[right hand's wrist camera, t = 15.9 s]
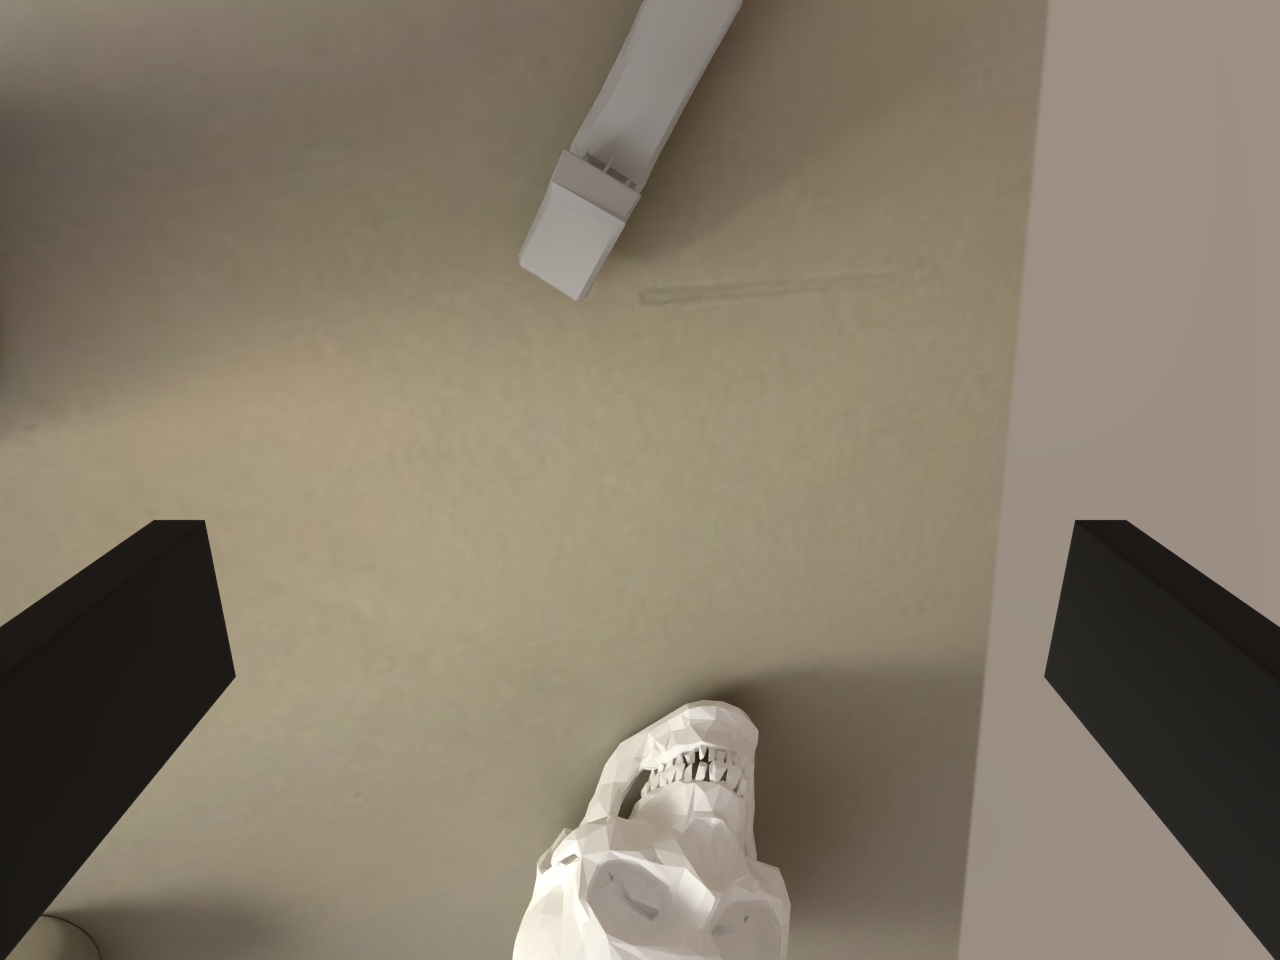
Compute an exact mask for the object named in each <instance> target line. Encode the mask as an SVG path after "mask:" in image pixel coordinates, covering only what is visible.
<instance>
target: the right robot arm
mask: <svg viewBox="0 0 1280 960" xmlns="http://www.w3.org/2000/svg"><path fill="white" fill-rule="evenodd" d="M235 677H236V675H235V670H234V665H233V660H232V655H231V650H230V645H229V640H228V635H227V630H226V625H225V620H224V615H223V610H222V605H221V600H220V595H219V590H218V585H217V580H216V575H215V569H214V564H213V559H212V554H211V549H210V544H209V539H208V534H207V529H206V524H205V520H153V521H152V522H150V523H149V524H148V525H146V526H145V527H143V528H142V529H140V530H139V531H138V532H136V533H135V534H133V535H132V536H130V537H129V538H128V539H126V540H125V541H123V542H122V543H120V544H119V545H117V546H116V547H115V548H113V549H112V550H110V551H109V552H107V553H106V554H105V555H103V556H102V557H100V558H99V559H97V560H96V561H95V562H93V563H92V564H90V565H89V566H87V567H86V568H84V569H83V570H82V571H80V572H79V573H77V574H76V575H74V576H73V577H72V578H70V579H69V580H67V581H66V582H64V583H63V584H62V585H60V586H59V587H57V588H56V589H54V590H53V591H51V592H50V593H49V594H47V595H46V596H44V597H43V598H41V599H40V600H39V601H37V602H36V603H34V604H33V605H31V606H30V607H29V608H27V609H26V610H24V611H23V612H21V613H20V614H19V615H17V616H16V617H14V618H13V619H11V620H10V621H8V622H7V623H6V624H4V625H3V626H1V627H0V960H5V959H6V958H7V957H8V955H9V954H10V953H11V952H12V950H13V949H14V948H15V947H16V946H17V944H18V943H19V942H20V941H21V939H22V938H23V937H24V936H25V935H26V933H27V932H28V931H29V930H30V928H31V927H32V926H33V925H34V923H35V922H36V921H37V920H38V919H39V917H40V916H41V915H42V914H43V912H44V911H45V910H46V909H47V908H48V906H49V905H50V904H51V903H52V901H53V900H54V899H55V898H56V897H57V895H58V894H59V893H60V892H61V890H62V889H63V888H64V887H65V885H66V884H67V883H68V882H69V881H70V879H71V878H72V877H73V876H74V874H75V873H76V872H77V871H78V870H79V868H80V867H81V866H82V865H83V863H84V862H85V861H86V860H87V859H88V857H89V856H90V855H91V854H92V852H93V851H94V850H95V849H96V847H97V846H98V845H99V844H100V843H101V841H102V840H103V839H104V838H105V836H106V835H107V834H108V833H109V832H110V830H111V829H112V828H113V827H114V825H115V824H116V823H117V822H118V821H119V819H120V818H121V817H122V816H123V814H124V813H125V812H126V811H127V809H128V808H129V807H130V806H131V805H132V803H133V802H134V801H135V800H136V798H137V797H138V796H139V795H140V794H141V792H142V791H143V790H144V789H145V787H146V786H147V785H148V784H149V782H150V781H151V780H152V779H153V778H154V776H155V775H156V774H157V773H158V771H159V770H160V769H161V768H162V767H163V765H164V764H165V763H166V762H167V760H168V759H169V758H170V757H171V756H172V754H173V753H174V752H175V751H176V749H177V748H178V747H179V746H180V744H181V743H182V742H183V741H184V740H185V738H186V737H187V736H188V735H189V733H190V732H191V731H192V730H193V729H194V727H195V726H196V725H197V724H198V722H199V721H200V720H201V719H202V718H203V716H204V715H205V714H206V713H207V711H208V710H209V709H210V708H211V706H212V705H213V704H214V703H215V702H216V700H217V699H218V698H219V697H220V695H221V694H222V693H223V692H224V691H225V689H226V688H227V687H228V686H229V684H230V683H231V682H232V681H233V680H234V678H235ZM1044 677H1045V678H1046V680H1047V681H1048V682H1049V683H1050V684H1051V686H1052V687H1053V688H1054V689H1055V691H1056V692H1057V693H1058V694H1059V695H1060V697H1061V698H1062V699H1063V700H1064V702H1065V703H1066V704H1067V705H1068V706H1069V708H1070V709H1071V710H1072V711H1073V713H1074V714H1075V715H1076V716H1077V718H1078V719H1079V720H1080V721H1081V722H1082V724H1083V725H1084V726H1085V727H1086V729H1087V730H1088V731H1089V732H1090V733H1091V735H1092V736H1093V737H1094V738H1095V740H1096V741H1097V742H1098V743H1099V744H1100V746H1101V747H1102V748H1103V749H1104V751H1105V752H1106V753H1107V754H1108V756H1109V757H1110V758H1111V759H1112V760H1113V762H1114V763H1115V764H1116V765H1117V767H1118V768H1119V769H1120V770H1121V771H1122V773H1123V774H1124V775H1125V776H1126V778H1127V779H1128V780H1129V781H1130V782H1131V784H1132V785H1133V786H1134V787H1135V789H1136V790H1137V791H1138V792H1139V794H1140V795H1141V796H1142V797H1143V798H1144V800H1145V801H1146V802H1147V803H1148V805H1149V806H1150V807H1151V808H1152V809H1153V811H1154V812H1155V813H1156V814H1157V816H1158V817H1159V818H1160V819H1161V821H1162V822H1163V823H1164V824H1165V825H1166V827H1167V828H1168V829H1169V830H1170V832H1171V833H1172V834H1173V835H1174V836H1175V838H1176V839H1177V840H1178V841H1179V843H1180V844H1181V845H1182V846H1183V847H1184V849H1185V850H1186V851H1187V852H1188V854H1189V855H1190V856H1191V857H1192V858H1193V860H1194V861H1195V862H1196V863H1197V865H1198V866H1199V867H1200V868H1201V870H1202V871H1203V872H1204V873H1205V874H1206V876H1207V877H1208V878H1209V879H1210V881H1211V882H1212V883H1213V884H1214V885H1215V887H1216V888H1217V889H1218V890H1219V892H1220V893H1221V894H1222V895H1223V897H1224V898H1225V899H1226V900H1227V901H1228V903H1229V904H1230V905H1231V906H1232V908H1233V909H1234V910H1235V911H1236V912H1237V914H1238V915H1239V916H1240V917H1241V919H1242V920H1243V921H1244V922H1245V923H1246V925H1247V926H1248V927H1249V928H1250V930H1251V931H1252V932H1253V933H1254V935H1255V936H1256V937H1257V938H1258V939H1259V941H1260V942H1261V943H1262V944H1263V946H1264V947H1265V948H1266V949H1267V950H1268V952H1269V953H1270V954H1271V955H1272V957H1273V958H1274V959H1275V960H1280V627H1279V626H1277V625H1276V624H1274V623H1273V622H1271V621H1270V620H1269V619H1267V618H1266V617H1264V616H1263V615H1261V614H1260V613H1259V612H1257V611H1256V610H1254V609H1253V608H1251V607H1250V606H1249V605H1247V604H1246V603H1244V602H1243V601H1241V600H1240V599H1239V598H1237V597H1236V596H1234V595H1233V594H1231V593H1230V592H1228V591H1227V590H1226V589H1224V588H1223V587H1221V586H1220V585H1218V584H1217V583H1216V582H1214V581H1213V580H1211V579H1210V578H1208V577H1207V576H1206V575H1204V574H1203V573H1201V572H1200V571H1198V570H1197V569H1196V568H1194V567H1193V566H1191V565H1190V564H1188V563H1187V562H1185V561H1184V560H1183V559H1181V558H1180V557H1178V556H1177V555H1175V554H1174V553H1173V552H1171V551H1170V550H1168V549H1167V548H1165V547H1164V546H1162V545H1161V544H1160V543H1158V542H1157V541H1155V540H1154V539H1152V538H1151V537H1150V536H1148V535H1147V534H1145V533H1144V532H1142V531H1141V530H1140V529H1138V528H1137V527H1135V526H1134V525H1132V524H1131V523H1130V522H1128V521H1127V520H1075V524H1074V529H1073V534H1072V539H1071V544H1070V549H1069V554H1068V560H1067V564H1066V570H1065V574H1064V580H1063V585H1062V590H1061V595H1060V600H1059V605H1058V610H1057V615H1056V620H1055V625H1054V630H1053V635H1052V640H1051V645H1050V650H1049V655H1048V660H1047V665H1046V670H1045V675H1044Z"/></svg>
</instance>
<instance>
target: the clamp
mask: <svg viewBox="0 0 1280 960" xmlns="http://www.w3.org/2000/svg"><path fill="white" fill-rule="evenodd" d="M742 3H743V0H643V1H642V4H641V6H640V8H639V11H638V13H637V15H636V18H635V20H634V23H633V25H632V27H631V30H630V32H629V34H628V36H627V38H626V40H625V42H624V44H623V46H622V48H621V50H620V52H619V54H618V57H617V59H616V61H615V63H614V65H613V67H612V69H611V71H610V73H609V75H608V77H607V79H606V81H605V83H604V85H603V87H602V89H601V92H600V93H599V95H598V97H597V99H596V100H595V102H594V104H593V106H592V108H591V109H590V111H589V113H588V115H587V116H586V118H585V120H584V122H583V124H582V125H581V127H580V129H579V131H578V132H577V134H576V136H575V138H574V140H573V141H572V144H571V148H570V151H568V150H567V149H563V151H562V154H561V156H560V159H559V161H558V163H557V166H556V168H555V171H554V173H553V176H552V178H551V180H550V183H549V186H548V188H547V191H546V194H545V197H544V199H543V202H542V204H541V206H540V208H539V211H538V213H537V215H536V217H535V219H534V222H533V224H532V226H531V228H530V230H529V233H528V235H527V237H526V239H525V242H524V244H523V246H522V248H521V250H520V253H519V255H518V260H519V263H520V265H521V266H522V267H523V268H525V269H526V270H528V271H529V272H531V273H533V274H534V275H536V276H538V277H539V278H541V279H542V280H544V281H545V282H547V283H549V284H550V285H552V286H553V287H555V288H556V289H558V290H560V291H561V292H563V293H564V294H566V295H567V296H569V297H571V298H572V299H574V300H575V301H578V300H583V299H584V298H585V297H586V296H588V293H589V291H590V289H591V287H592V285H593V283H594V281H595V278H596V276H597V274H598V272H599V271H600V269H601V267H602V265H603V264H604V262H605V260H606V258H607V257H608V255H609V253H610V251H611V250H612V248H613V246H614V244H615V242H616V241H617V239H618V237H619V235H620V234H621V232H622V230H623V228H624V226H625V224H626V222H627V220H628V218H629V217H630V215H631V213H632V212H633V210H634V208H635V206H636V205H637V203H638V201H639V200H640V198H641V195H640V192H641V191H642V189H643V188H644V186H645V185H646V182H647V180H648V178H649V176H650V174H651V171H652V169H653V167H654V165H655V163H656V160H657V158H658V156H659V155H660V153H661V151H662V149H663V147H664V145H665V144H666V142H667V140H668V138H669V136H670V134H671V132H672V131H673V129H674V127H675V125H676V123H677V121H678V119H679V118H680V116H681V114H682V112H683V110H684V108H685V106H686V104H687V103H688V101H689V99H690V97H691V95H692V93H693V92H694V90H695V88H696V86H697V84H698V82H699V81H700V79H701V77H702V75H703V73H704V72H705V70H706V68H707V66H708V64H709V62H710V61H711V59H712V57H713V55H714V54H715V52H716V50H717V48H718V47H719V45H720V43H721V41H722V39H723V38H724V36H725V34H726V32H727V31H728V29H729V27H730V25H731V24H732V22H733V20H734V18H735V17H736V15H737V13H738V11H739V10H740V8H741V6H742Z"/></svg>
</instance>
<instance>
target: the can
mask: <svg viewBox="0 0 1280 960" xmlns="http://www.w3.org/2000/svg"><path fill="white" fill-rule="evenodd" d="M5 960H99V953H98V950H97V948H96V946H95V944H94V942H93V941H92V940H91V938H90V937H89V936H88V935H87V934H86V933H85V932H83V931H82V930H81V929H79V928H78V927H76V926H74V925H73V924H71V923H69V922H66V921H64V920H61V919H58V918H54V917H48V916H40V917H39V919H38V920H37V921H36V922H35V923H34V925H33V926H32V927H31V928H30V930H29V931H28V932H27V933H26V935H25V936H24V937H23V938H22V939H21V941H20V942H19V943H18V944H17V946H16V947H15V948H14V949H13V950H12V952H11V953H10V954H9V955H8V957H7V958H6V959H5Z"/></svg>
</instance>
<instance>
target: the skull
mask: <svg viewBox="0 0 1280 960" xmlns="http://www.w3.org/2000/svg"><path fill="white" fill-rule="evenodd" d="M758 732H759V731H758V730H757V728H756V727H755V726H754V724H753V723H752V721H751V720H750V718H749V717H748V715H747V714H746V713H745V712H744V711H743V710H741V709H740V708H738V707H735V706H733V705H731V704H728V703H726V702H723V701H712V700H700V701H696V702H691V703H687V704H685V705H683V706H681V707H680V708H678V709H677V710H675V711H673V712H672V713H670V714H668V715H667V716H665V717H663V718H662V719H660V720H658V721H657V722H655V723H653V724H652V725H650V726H648V727H647V728H645V729H643V730H642V731H640V732H638V733H636V734H635V735H633V736H631V737H630V738H628V739H626V740H625V741H623V742H621V743H620V744H619V746H618V747H617V749H616V750H615V751H614V753H613V754H612V756H611V757H610V758H609V760H608V761H607V763H606V764H605V767H604V769H603V772H602V775H601V778H600V780H599V783H598V786H597V789H596V792H595V794H594V796H593V798H592V800H591V801H590V803H589V806H588V809H587V812H586V815H585V817H584V819H583V820H582V822H581V824H580V825H579V827H578V828H576V829H575V830H572V829H570V828H564V829H563V831H562V832H561V834H560V835H559V836H558V838H557V839H556V841H555V842H554V843H553V845H552V846H551V847H550V848H549V849H548V850H547V851H546V852H545V853H544V854H543V855H542V856H541V857H540V858H539V860H538V862H537V878H536V883H535V888H534V892H533V897H532V900H531V902H530V904H529V906H528V908H527V911H526V913H525V915H524V917H523V920H522V923H521V925H520V928H519V931H518V934H517V937H516V941H515V946H514V952H513V960H786V958H787V947H788V935H789V923H790V909H791V904H790V900H789V897H788V893H787V890H786V886H785V883H784V880H783V878H782V876H781V873H780V871H779V868H778V867H774V866H771V865H768V864H765V863H762V862H759V861H757V853H756V846H755V840H754V833H753V822H754V811H755V800H754V757H755V750H756V747H757V744H758ZM706 749H709V759H708V762H710V761H712V760H713V761H712V762H711V764H710V765H709V776H710V782H706V781H703V779H704V777H705V774H706V770H707V763H705V762H701V761H700V763H699V767H698V770H697V774H696V777H695V779H692V764H693V763H695V752H697V751H699V759H702V758H703V757H704V756H705V753H706ZM716 750H717V755H716ZM721 751H722V752H721ZM684 755H685V758H686V760H687V763H688V767H687V768H686V769H685V763H683V762H684V758H683V756H684ZM715 758H716V760H715ZM724 758H726V763H724ZM732 762H733V765H732ZM684 769H685V771H684ZM726 769H727V774H726V780H725V781H720V779H721V778H722V776H723V774H724V772H725V771H726ZM643 770H652V771H651V775H650V778H649V781H648V782H647V783H646V784H645V786H644V787H643V789H642V791H641V799H640V800H639V801H638V802H636V803H635V805H634V807H633V810H632V813H631V815H630V817H629V818H628V820H627V819H624V818H620V817H618V813H619V809H620V806H621V804H622V802H623V801H624V799H625V797H626V796H627V794H628V792H629V790H630V789H631V787H632V785H633V783H634V782H635V780H636V778H637V777H638V775H639V774H640V773H641V772H642V771H643ZM657 770H658V772H657ZM674 778H675V782H673V780H674ZM683 778H684V779H683Z"/></svg>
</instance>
